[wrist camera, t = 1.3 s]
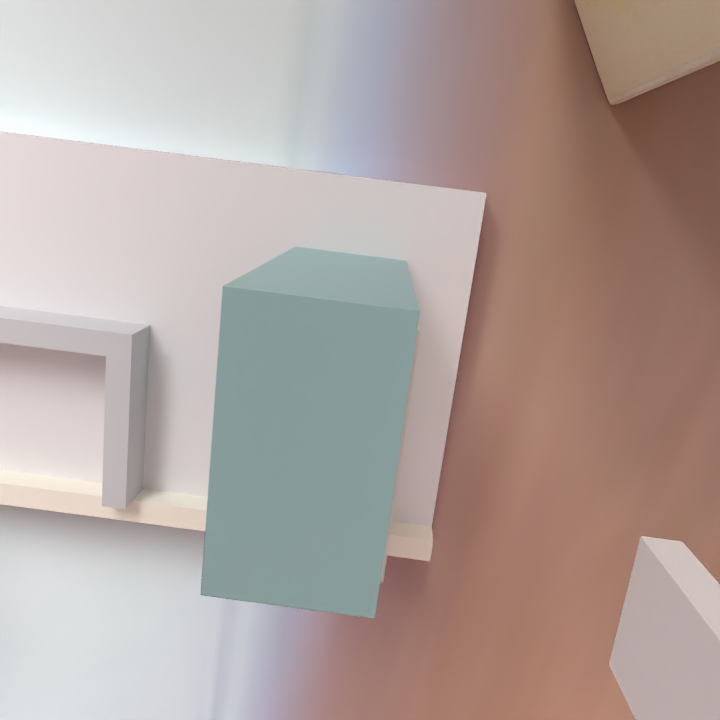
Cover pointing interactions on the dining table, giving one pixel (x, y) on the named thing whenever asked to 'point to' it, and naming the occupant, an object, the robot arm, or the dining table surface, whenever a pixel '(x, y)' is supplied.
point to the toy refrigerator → (649, 41)
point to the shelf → (189, 316)
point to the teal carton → (309, 430)
